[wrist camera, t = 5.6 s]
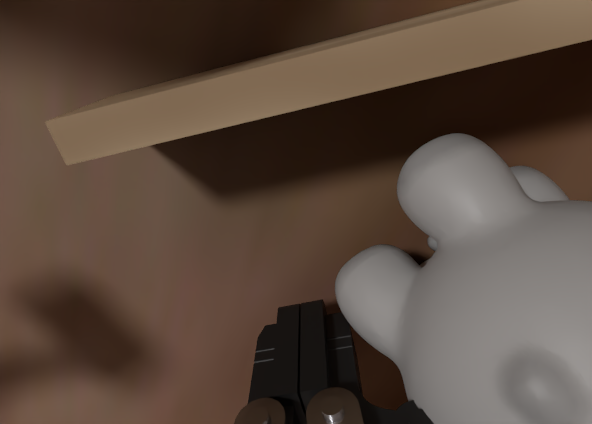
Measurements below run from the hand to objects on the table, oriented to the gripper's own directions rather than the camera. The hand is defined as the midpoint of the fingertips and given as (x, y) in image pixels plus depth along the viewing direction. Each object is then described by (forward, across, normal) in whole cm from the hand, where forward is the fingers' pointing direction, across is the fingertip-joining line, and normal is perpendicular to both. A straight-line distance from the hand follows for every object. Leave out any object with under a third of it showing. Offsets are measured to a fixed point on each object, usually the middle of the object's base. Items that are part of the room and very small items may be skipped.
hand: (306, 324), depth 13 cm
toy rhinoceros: (+2, -7, 0) cm, 7 cm away
